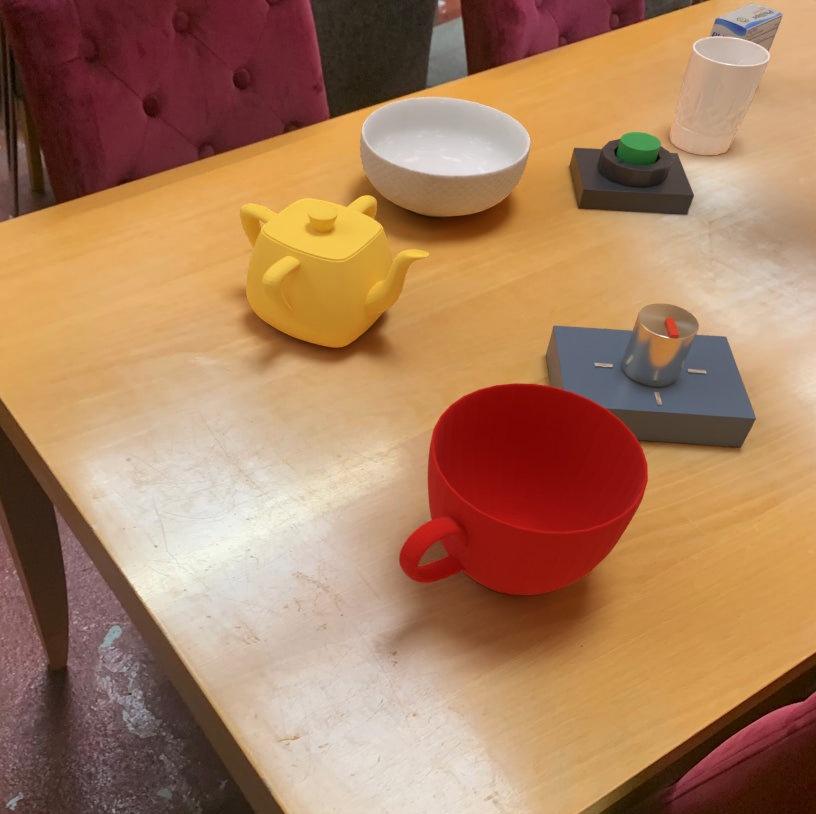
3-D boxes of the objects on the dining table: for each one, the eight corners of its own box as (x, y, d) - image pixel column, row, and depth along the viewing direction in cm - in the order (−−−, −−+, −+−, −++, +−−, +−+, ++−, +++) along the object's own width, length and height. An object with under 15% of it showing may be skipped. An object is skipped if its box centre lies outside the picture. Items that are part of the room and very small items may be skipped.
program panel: (713, 365, 75) (727, 334, 73) (741, 447, 68) (757, 417, 66) (545, 354, 76) (553, 323, 73) (557, 434, 69) (566, 403, 67)
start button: (652, 149, 93) (657, 132, 92) (659, 168, 90) (664, 151, 89) (613, 147, 93) (618, 130, 92) (619, 165, 91) (623, 149, 89)
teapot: (387, 270, 84) (396, 166, 76) (416, 355, 75) (431, 247, 68) (242, 280, 83) (237, 175, 75) (255, 368, 74) (251, 259, 66)
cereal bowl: (465, 262, 85) (476, 193, 80) (324, 205, 92) (327, 138, 86) (546, 191, 94) (561, 125, 89) (413, 144, 101) (420, 80, 95)
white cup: (740, 161, 99) (777, 68, 91) (667, 155, 100) (698, 62, 92) (729, 129, 104) (763, 39, 97) (660, 124, 105) (688, 33, 97)
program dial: (617, 349, 71) (634, 298, 68) (672, 353, 71) (693, 301, 68) (626, 385, 68) (644, 333, 65) (684, 388, 68) (706, 337, 65)
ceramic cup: (330, 568, 60) (335, 464, 53) (506, 462, 67) (533, 356, 60) (464, 705, 53) (493, 607, 46) (645, 571, 60) (695, 467, 53)
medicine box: (725, 75, 114) (751, 1, 108) (756, 86, 112) (785, 12, 106) (689, 91, 111) (714, 16, 104) (721, 104, 109) (748, 27, 102)
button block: (671, 172, 97) (683, 136, 94) (687, 215, 91) (700, 178, 88) (569, 166, 98) (577, 130, 95) (578, 209, 92) (588, 172, 89)
